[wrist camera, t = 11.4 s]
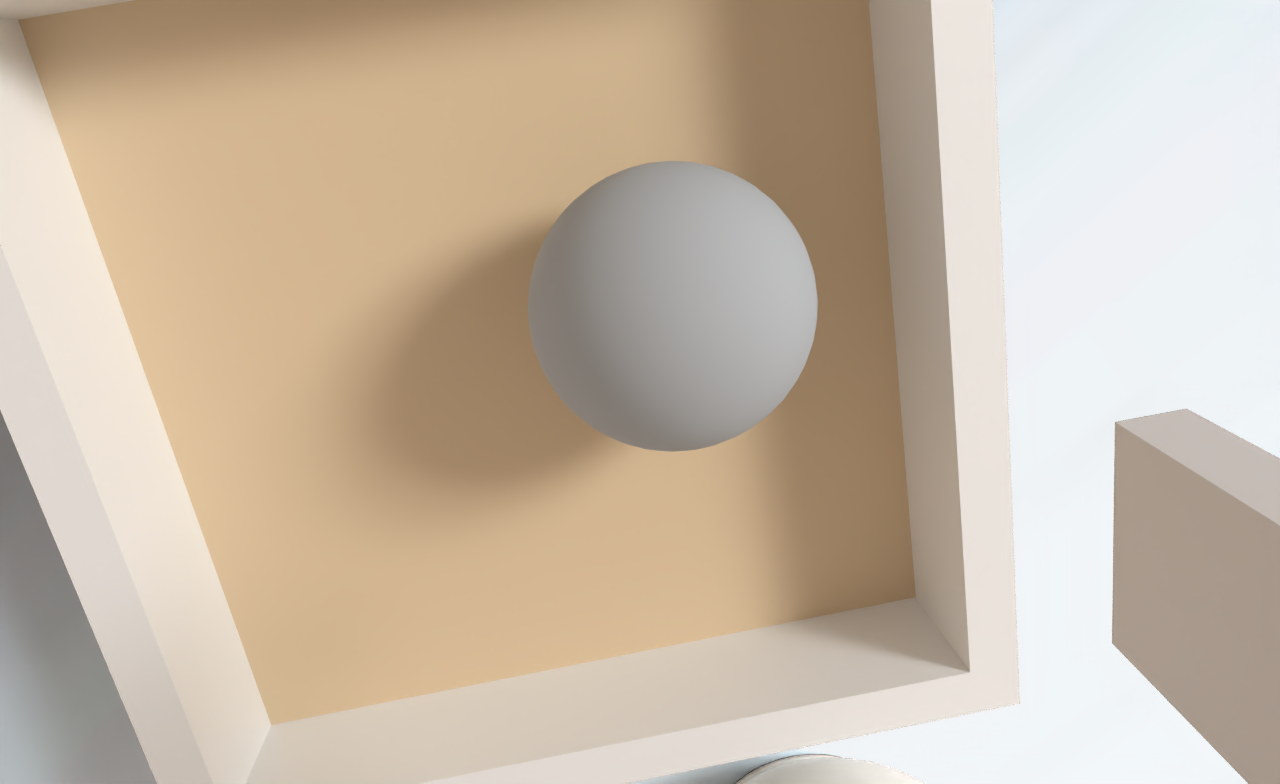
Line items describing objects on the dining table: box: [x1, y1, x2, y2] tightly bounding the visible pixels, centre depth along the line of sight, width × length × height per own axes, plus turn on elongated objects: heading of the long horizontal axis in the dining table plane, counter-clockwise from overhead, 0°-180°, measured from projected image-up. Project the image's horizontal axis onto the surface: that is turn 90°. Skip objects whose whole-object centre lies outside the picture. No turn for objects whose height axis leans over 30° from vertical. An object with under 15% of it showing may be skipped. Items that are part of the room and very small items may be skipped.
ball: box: [528, 161, 818, 452], centre depth 19 cm, size 6×6×6 cm
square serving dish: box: [0, 0, 1020, 784], centre depth 21 cm, size 20×20×4 cm
